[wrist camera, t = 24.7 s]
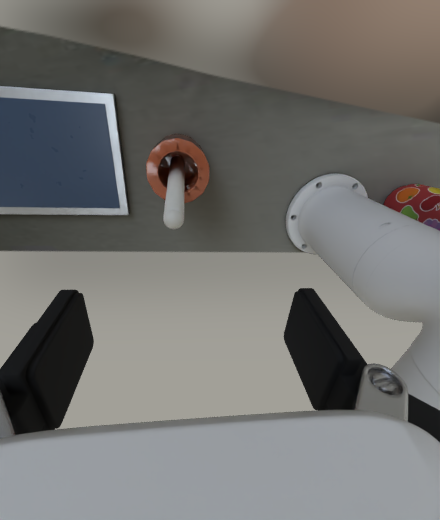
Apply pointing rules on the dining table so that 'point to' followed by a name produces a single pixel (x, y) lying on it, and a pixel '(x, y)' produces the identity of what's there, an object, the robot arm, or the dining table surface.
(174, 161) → the stylus
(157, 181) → the holder
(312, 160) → the dining table surface
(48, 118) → the tablet
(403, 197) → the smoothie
